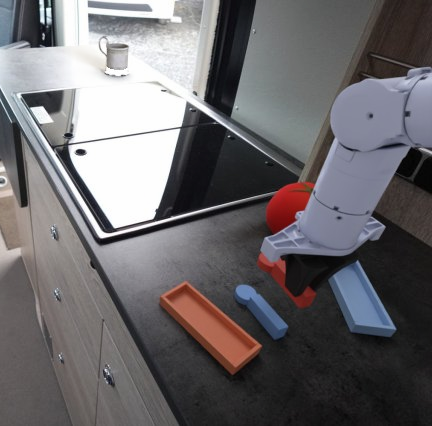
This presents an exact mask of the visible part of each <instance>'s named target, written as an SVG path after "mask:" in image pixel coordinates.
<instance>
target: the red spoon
mask: <svg viewBox="0 0 432 426" xmlns="http://www.w3.org/2000/svg"><path fill="white" fill-rule="evenodd" d="M256 265H257V267H258V268H259V269H260V270H262V271H263V272H265V273H269V274H270V276H271V277H272V278H273V279H274V280H275V281H276V283H278V285H279V286H280V287H281V289H282V290H283V291H284V293H286V294H287V295H288V297H289V298H290V299H291V300H292V301H293V302H294V304H295V305H296V306H297V307H298V308H299V309H303V308H307V307H310V306H311V305H312V303H313V302H314V300H315V298H316V296H317V293H316V291H315V292H314V291H313V290H312V289H311V288H310V287H309V286H308V287H307V288H306V290H305V291H304V293H303V294H301V295H300V296H298V297H294V296H293V295H292V294H291V293H290V292H289V290H288V289H287V288H286V287H285V271H286V269H285V259H284V260H282V258H281V257H280V258H279V260H278V261H276V262H270V261H269V260H268V259H267V258H266V257H265V256H264V254H263V253H262V252H261V253H259V254H258V258H257V261H256Z"/></svg>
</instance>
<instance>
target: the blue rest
mask: <svg viewBox="0 0 432 426" xmlns="http://www.w3.org/2000/svg"><path fill="white" fill-rule="evenodd" d="M327 282H328V283H329V286H330V288H331V290H332V292H333V295H334V297H335V300H336V301H337V304H338V306H339V308H340V311H341V313H342V315H343V318H344V320H345V322H346V324H347V327H348V329H349V331H350V333H356V334H362V335H363V334H364V335H370V336H377V337H386V338H392V336H393V335H394V334H395V332H396V331H397V327H396V326H395V324H394V323H393V320H392V318H391V317H390V315H389V313H388V311H387V310H386V308H385V306H384V304H383V303H382V301H381V299H380V297H379V296H378V294H377V291H376V290H375V288H374V287H373V285H372V283H371V282H370V279H369V277H368V275H367V274H366V272H365V270H364V269H363V267H362V265H361V263H360V261H359V259H358V260H357V262H355V263H353V264H351V265H349V266H347V267H345V268H343V269H342V270H340V271H339V272H337V273H336V274H334V275H333V276H332V277H331V278H330V279H329V280H327Z"/></svg>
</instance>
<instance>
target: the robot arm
mask: <svg viewBox="0 0 432 426" xmlns="http://www.w3.org/2000/svg"><path fill="white" fill-rule="evenodd" d="M329 117H330V118H329V120H330V121H329V122H330V128H331V131H332V133H333V136H334V139H333V141H332V144H331V146H330V148H329V151H328V154H327V156H326V158H325V159H324V160H325V161H324V163H323V165H322V168H321V170H320V173H319V174H318V177H317V180H316V182H315V183H314V184H315V187H314V189H313V191H312V194H311V196H310V199H309V201H308V204H307V206H306V208H305V211H300V212H297V213H296V216H295V218H296V219H297V221H296V222H294V223H293V224H291V225H290V226H288V227H286V228H285V229H283V230H282V231H280V232H278V233H277V234H275V235H274V234H273V235H269V236H266V237H264V239H263V242H262V244H261V248H260V252H261V253H263V254H264V256H265V257H266V258H267V259H268V260H269V261H270V262H276V261H278V260H279V258H281V256H283V259H284V260H285V269H286V271H285V287H286V288H287V289H288V290H289V292H290V293H291V294H292V295H293V296H294V297H298V296H300V295H301V294H303V293H304V291H305V290H306V288H307V287H308V286H309V287H310V288H311V289H312V290H313V291H314V292H315V293H316V292H317V291H318V290H319V289H320V288H321V287H323V285H324V284H325V283H327V282H328V280H329V279H330V278H331V277H332V276H333V275H334V274H336V273H337V272H339V271H340V270H342V269H343V268H345V267H347V266H349V265H351V264H353V263H355V262H357V260H358V261H359V259H360V254H359V253H358V251H357V249H358V248H359V247H361V246H362V245H363V244H365V243H366V242H367V241H368V240H369V241H373V242H374V241H377V240H379V239H380V237H381V236H382V235H383V233H384V231H385V229H386V226H385V225H384V224H383V223H381V222H380V221H379V220H377V219H376V218H374V217H373V216H372V215H373V213H374V211H375V209H376V207H377V206H378V203H379V202H380V200H381V199H382V197H383V194H384V193H385V191H386V189H387V187H388V186H389V184H390V183H391V180H392V178H393V177H394V175H395V174H396V171H397V170H398V168H399V166H400V164H401V163H402V160H403V159H404V158H406V156H407V155H408V152H409V151H410V149H411V148H412V147H414V148H431V149H432V67H431V66H426V67H424V66H423V67H418V68H412V69H411V68H410V69H409V70H408V72H407V76H399V77H389V78H381V79H377V78H365V79H363V80H362V81H359V82H356V83H352V84H351V85H349V86H347V87H346V88H344V89H343V90H342V91H341V92H339V94H338V95H337V97H336V98H335V100H334V102H333V104H332V107H331V110H330V115H329Z"/></svg>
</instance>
